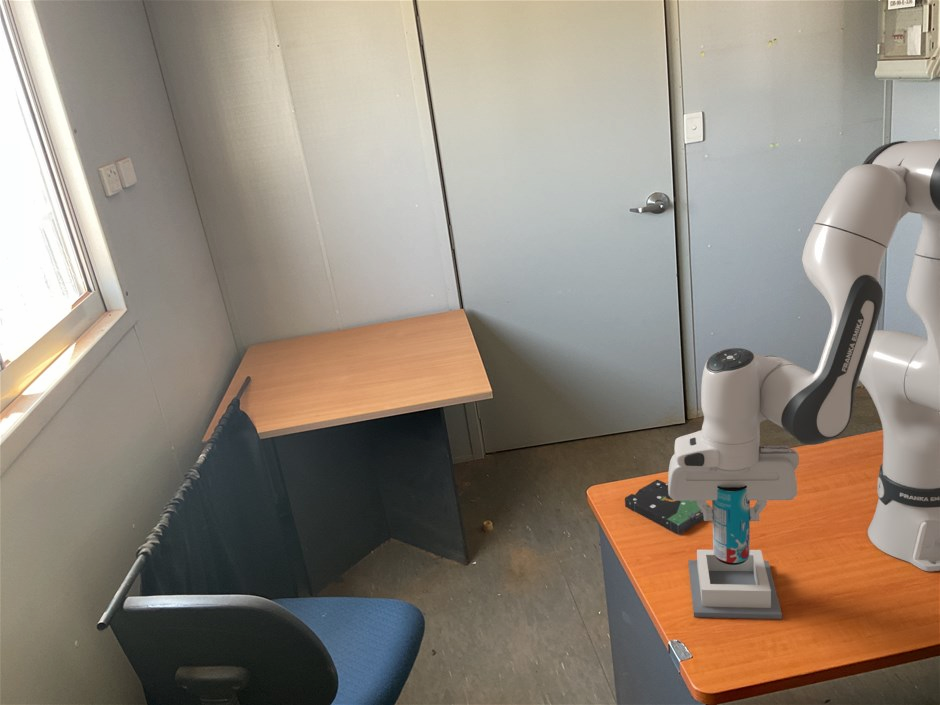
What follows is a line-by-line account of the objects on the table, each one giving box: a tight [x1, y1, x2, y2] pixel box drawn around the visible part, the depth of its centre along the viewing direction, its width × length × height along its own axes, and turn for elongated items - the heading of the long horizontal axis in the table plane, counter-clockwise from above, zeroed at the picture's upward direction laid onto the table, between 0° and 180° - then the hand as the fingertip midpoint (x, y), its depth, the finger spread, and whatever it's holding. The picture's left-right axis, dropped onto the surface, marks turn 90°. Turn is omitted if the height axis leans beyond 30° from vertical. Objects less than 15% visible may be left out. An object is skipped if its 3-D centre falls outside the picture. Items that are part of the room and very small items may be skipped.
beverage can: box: [711, 486, 751, 565], centre depth 129 cm, size 6×6×15 cm
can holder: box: [687, 549, 783, 620], centre depth 134 cm, size 14×14×4 cm
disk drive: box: [624, 479, 711, 536], centre depth 159 cm, size 10×3×15 cm
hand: (730, 519), depth 129 cm, fingers closed on beverage can, 6 cm apart
